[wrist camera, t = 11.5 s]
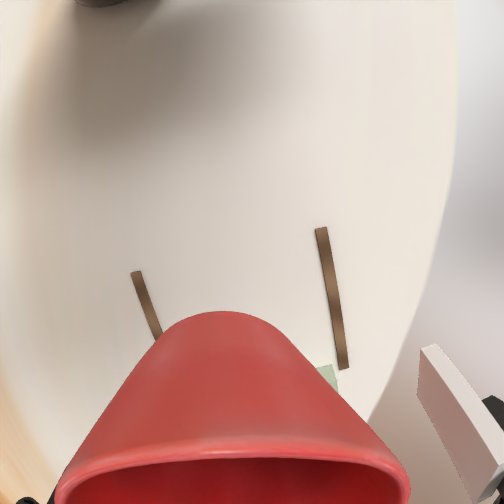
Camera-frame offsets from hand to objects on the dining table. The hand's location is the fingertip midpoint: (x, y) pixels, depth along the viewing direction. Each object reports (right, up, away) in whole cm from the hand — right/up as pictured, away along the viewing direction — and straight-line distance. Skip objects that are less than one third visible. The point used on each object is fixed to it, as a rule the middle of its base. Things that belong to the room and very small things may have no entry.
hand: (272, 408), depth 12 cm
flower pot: (-2, 0, +3) cm, 4 cm away
